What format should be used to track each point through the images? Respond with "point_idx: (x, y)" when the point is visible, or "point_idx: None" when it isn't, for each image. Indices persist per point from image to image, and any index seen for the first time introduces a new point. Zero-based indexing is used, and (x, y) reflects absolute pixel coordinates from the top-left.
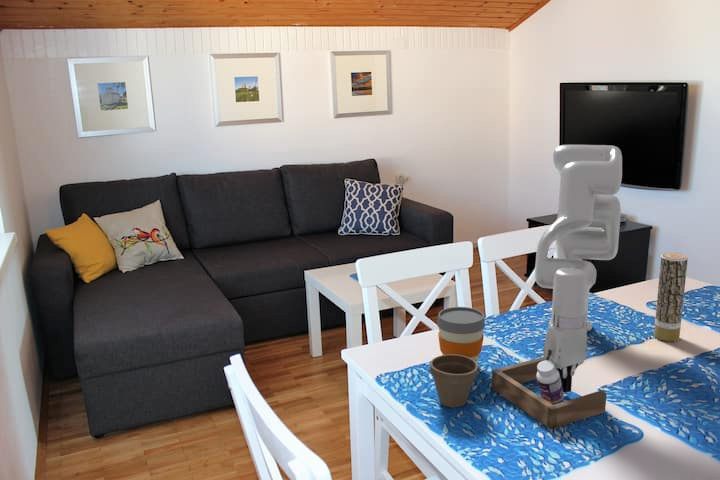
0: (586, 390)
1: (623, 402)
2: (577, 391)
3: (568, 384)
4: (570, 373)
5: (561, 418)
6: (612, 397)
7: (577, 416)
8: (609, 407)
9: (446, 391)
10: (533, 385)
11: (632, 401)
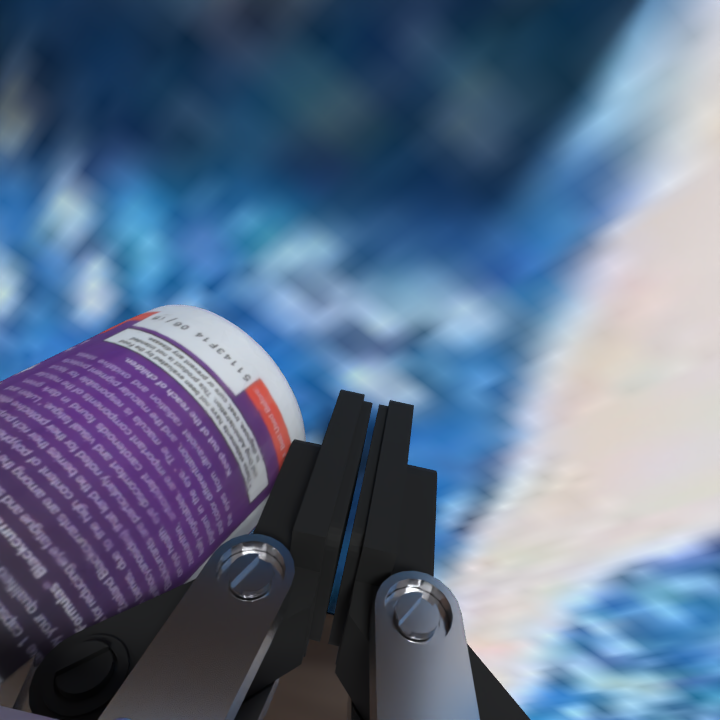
0: (632, 484)
1: (618, 687)
2: (552, 443)
3: (337, 565)
4: (347, 705)
5: None
6: (646, 635)
7: None
8: (481, 656)
9: None
10: (297, 27)
11: (674, 713)
